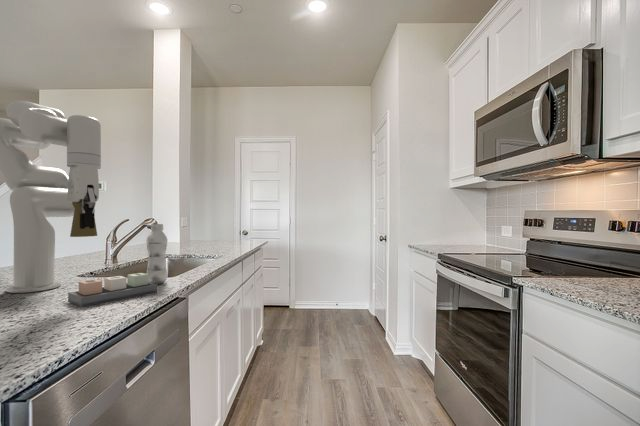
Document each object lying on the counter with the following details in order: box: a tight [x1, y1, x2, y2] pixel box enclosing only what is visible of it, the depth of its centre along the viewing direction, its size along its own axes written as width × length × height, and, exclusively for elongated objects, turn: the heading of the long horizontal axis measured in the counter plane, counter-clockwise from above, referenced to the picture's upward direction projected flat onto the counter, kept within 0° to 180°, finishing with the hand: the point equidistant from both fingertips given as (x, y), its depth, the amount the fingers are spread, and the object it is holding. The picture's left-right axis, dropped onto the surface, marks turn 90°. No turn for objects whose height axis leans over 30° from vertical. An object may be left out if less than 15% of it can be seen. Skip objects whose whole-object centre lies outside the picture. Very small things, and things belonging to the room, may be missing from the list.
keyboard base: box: [67, 282, 158, 309], centre depth 89 cm, size 9×19×2 cm, turn 145°
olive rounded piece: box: [69, 200, 98, 238], centre depth 87 cm, size 6×6×11 cm
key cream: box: [103, 275, 127, 291], centre depth 89 cm, size 4×4×3 cm
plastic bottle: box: [145, 223, 168, 285], centre depth 106 cm, size 6×7×20 cm
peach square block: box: [78, 278, 103, 295], centre depth 84 cm, size 4×4×3 cm
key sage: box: [126, 272, 148, 287], centre depth 94 cm, size 4×4×3 cm
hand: (84, 227), depth 87 cm, fingers closed on olive rounded piece, 4 cm apart
